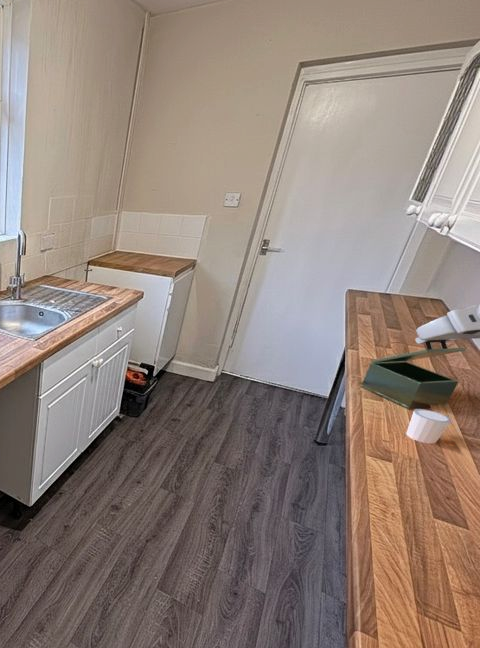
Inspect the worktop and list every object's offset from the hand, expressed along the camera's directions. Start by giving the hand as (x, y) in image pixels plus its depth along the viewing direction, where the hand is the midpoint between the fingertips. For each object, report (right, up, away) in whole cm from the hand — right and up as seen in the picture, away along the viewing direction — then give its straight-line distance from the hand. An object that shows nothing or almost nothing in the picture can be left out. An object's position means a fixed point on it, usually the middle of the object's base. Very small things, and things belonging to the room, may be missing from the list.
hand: (428, 341), depth 122 cm
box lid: (0, -5, +3) cm, 6 cm away
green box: (0, -17, +8) cm, 19 cm away
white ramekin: (-17, -27, -13) cm, 34 cm away
